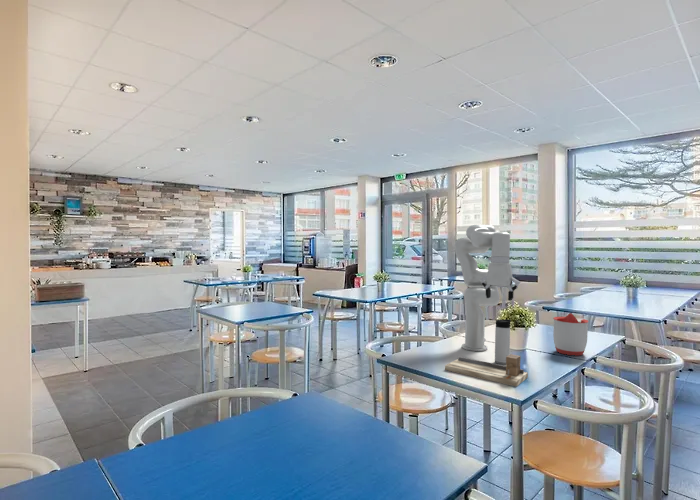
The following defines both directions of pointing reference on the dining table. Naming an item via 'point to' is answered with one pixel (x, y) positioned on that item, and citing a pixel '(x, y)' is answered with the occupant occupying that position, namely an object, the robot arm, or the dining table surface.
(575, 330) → the citrus juicer
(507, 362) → the brown block
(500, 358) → the travel mug
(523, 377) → the board
